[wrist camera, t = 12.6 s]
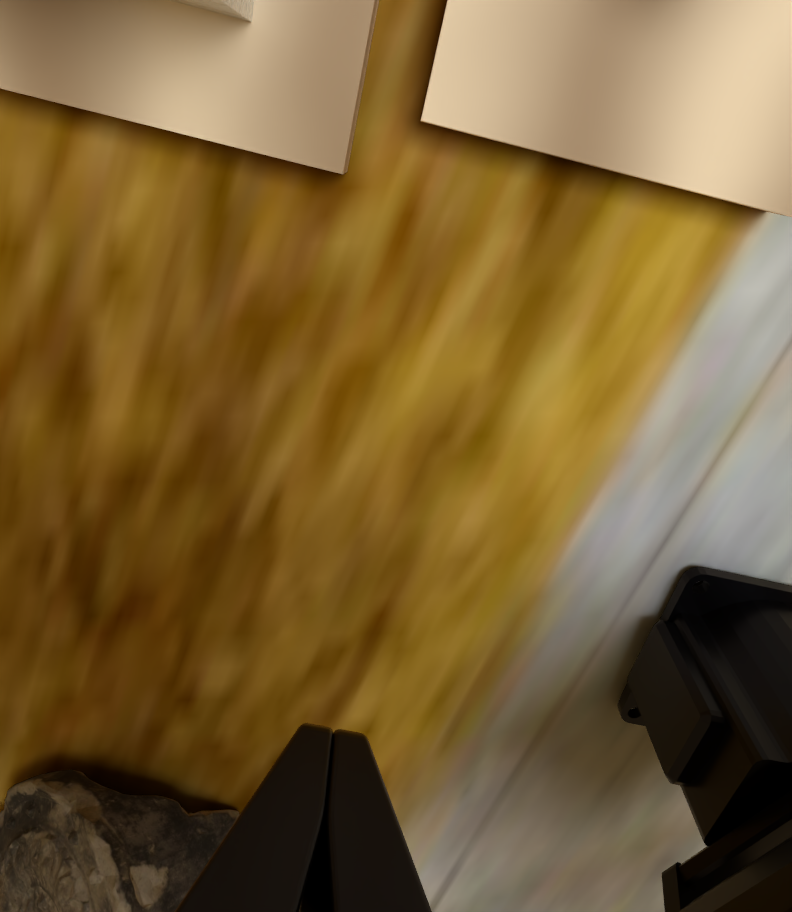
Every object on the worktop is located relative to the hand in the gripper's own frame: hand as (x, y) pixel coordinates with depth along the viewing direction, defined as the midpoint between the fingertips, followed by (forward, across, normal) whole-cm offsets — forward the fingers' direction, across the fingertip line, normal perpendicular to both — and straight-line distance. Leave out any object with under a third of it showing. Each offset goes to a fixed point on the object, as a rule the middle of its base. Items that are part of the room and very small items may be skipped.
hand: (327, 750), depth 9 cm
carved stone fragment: (+12, +6, +21) cm, 25 cm away
